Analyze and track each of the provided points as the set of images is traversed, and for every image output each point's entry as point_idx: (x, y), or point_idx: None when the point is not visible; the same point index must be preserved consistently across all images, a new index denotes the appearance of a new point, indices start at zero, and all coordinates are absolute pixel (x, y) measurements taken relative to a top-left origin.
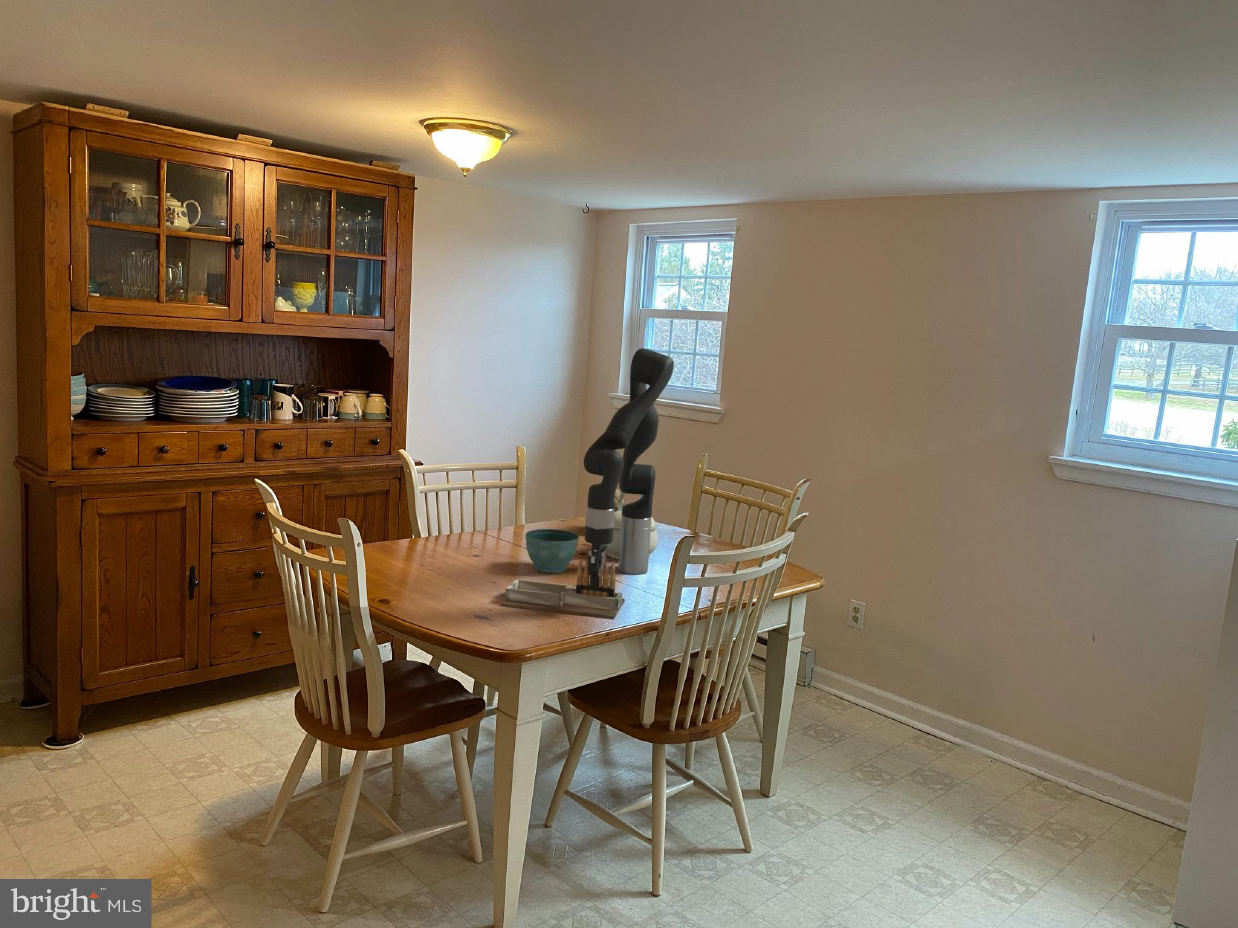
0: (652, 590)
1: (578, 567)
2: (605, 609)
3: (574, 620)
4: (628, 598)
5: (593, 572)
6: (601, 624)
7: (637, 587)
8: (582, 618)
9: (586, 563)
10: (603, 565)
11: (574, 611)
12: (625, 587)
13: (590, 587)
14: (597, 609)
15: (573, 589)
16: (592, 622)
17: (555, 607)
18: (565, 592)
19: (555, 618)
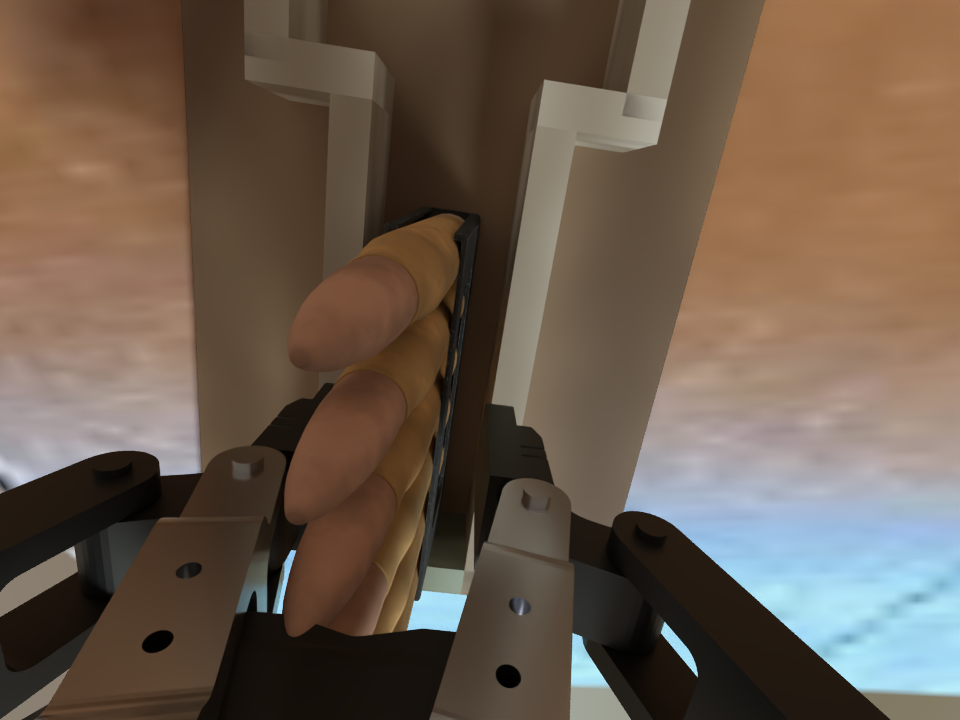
0: (867, 674)
1: (334, 271)
2: None
3: (58, 237)
4: None
5: (78, 546)
6: (66, 426)
7: (937, 600)
8: (133, 293)
9: (290, 464)
10: (589, 646)
11: (192, 225)
12: (940, 535)
13: (324, 389)
14: (306, 394)
15: (527, 182)
16: (78, 367)
17: (229, 37)
18: (357, 102)
19: (30, 71)
